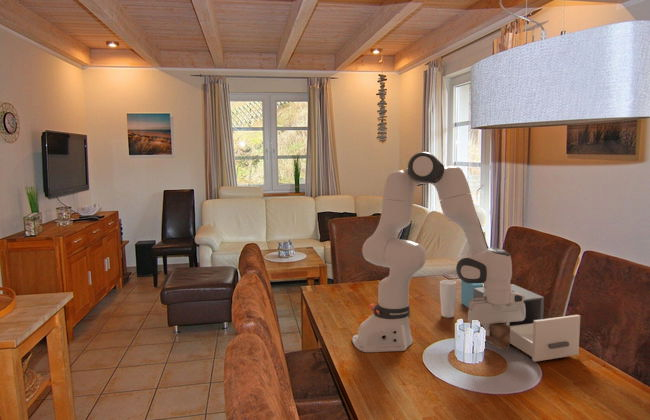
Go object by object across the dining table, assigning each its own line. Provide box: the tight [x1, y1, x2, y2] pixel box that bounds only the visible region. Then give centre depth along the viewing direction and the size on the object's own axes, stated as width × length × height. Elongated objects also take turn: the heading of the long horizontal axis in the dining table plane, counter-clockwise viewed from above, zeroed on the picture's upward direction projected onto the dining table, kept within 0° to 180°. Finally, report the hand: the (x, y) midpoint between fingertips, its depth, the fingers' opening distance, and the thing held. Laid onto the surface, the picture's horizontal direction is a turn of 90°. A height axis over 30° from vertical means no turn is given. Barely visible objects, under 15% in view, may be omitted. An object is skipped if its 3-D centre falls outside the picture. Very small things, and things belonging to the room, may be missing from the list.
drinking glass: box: [439, 279, 457, 319], centre depth 194 cm, size 7×7×15 cm
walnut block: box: [483, 323, 511, 349], centre depth 156 cm, size 4×10×7 cm, turn 12°
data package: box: [460, 280, 484, 309], centre depth 204 cm, size 12×4×12 cm, turn 10°
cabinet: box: [473, 283, 545, 327], centre depth 176 cm, size 18×18×16 cm
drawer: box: [509, 314, 581, 362], centre depth 158 cm, size 17×19×14 cm
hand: (495, 334), depth 156 cm, fingers closed on walnut block, 4 cm apart
